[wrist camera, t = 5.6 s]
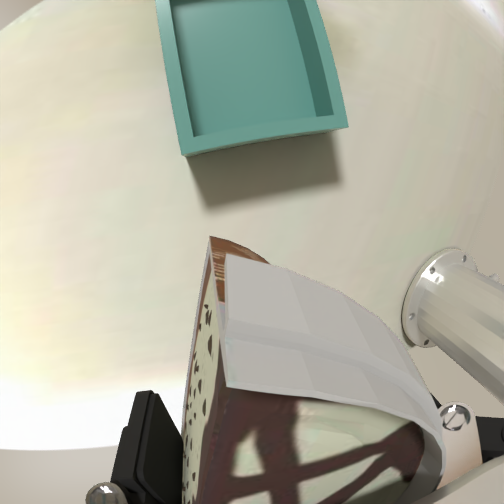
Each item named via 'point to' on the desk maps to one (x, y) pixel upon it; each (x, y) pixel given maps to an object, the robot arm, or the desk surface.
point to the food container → (300, 395)
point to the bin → (248, 72)
